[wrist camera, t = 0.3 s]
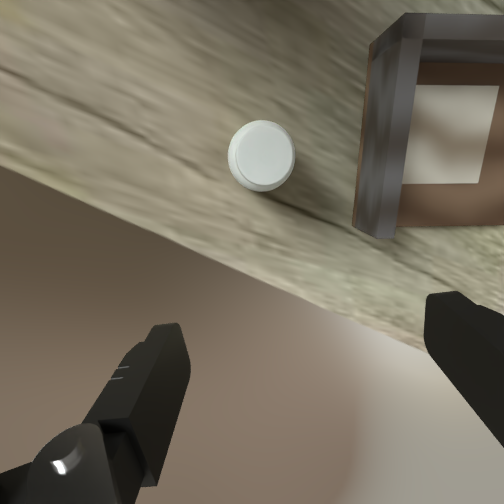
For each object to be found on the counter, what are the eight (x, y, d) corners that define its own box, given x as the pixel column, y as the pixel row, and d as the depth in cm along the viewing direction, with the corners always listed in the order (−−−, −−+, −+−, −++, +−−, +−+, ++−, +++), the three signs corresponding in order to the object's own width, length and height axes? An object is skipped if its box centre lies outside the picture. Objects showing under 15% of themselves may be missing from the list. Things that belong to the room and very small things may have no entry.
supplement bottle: (275, 123, 28) (294, 102, 19) (288, 177, 30) (311, 183, 20) (222, 139, 28) (216, 126, 19) (238, 192, 30) (239, 204, 21)
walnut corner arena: (369, 44, 26) (405, 12, 21) (544, 47, 27) (623, 17, 22) (351, 225, 31) (376, 238, 26) (500, 223, 32) (554, 235, 27)
